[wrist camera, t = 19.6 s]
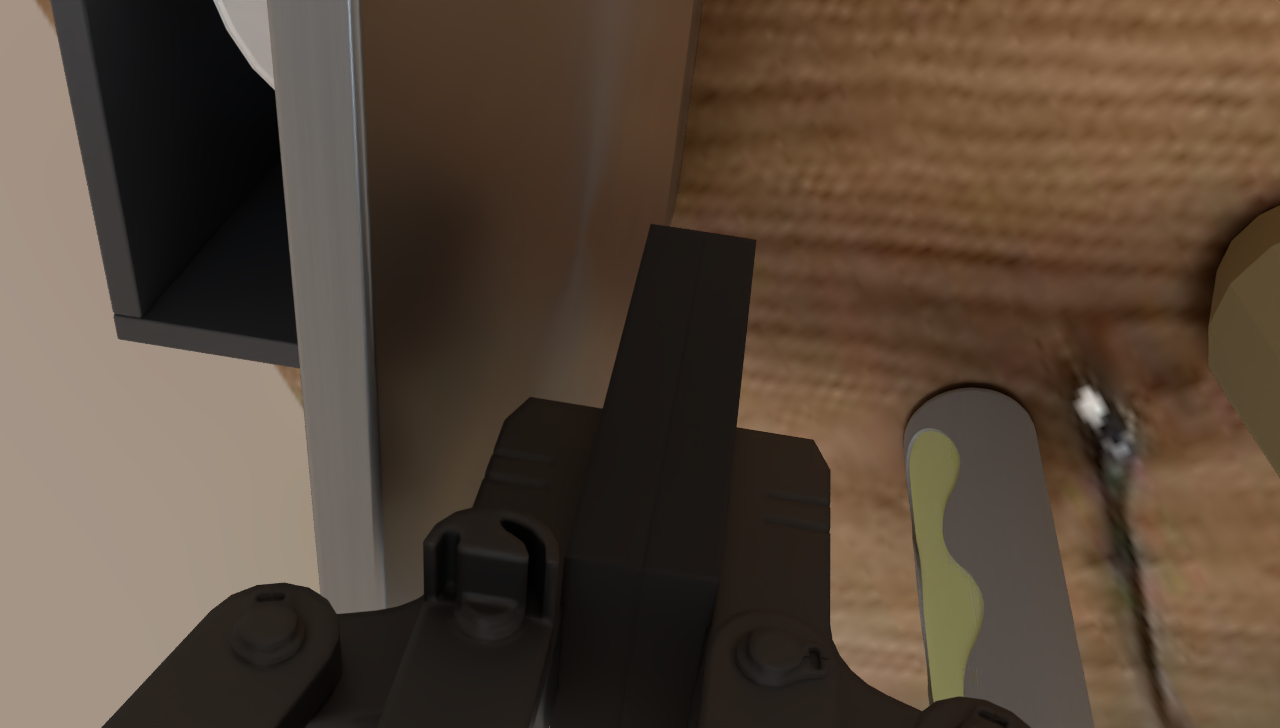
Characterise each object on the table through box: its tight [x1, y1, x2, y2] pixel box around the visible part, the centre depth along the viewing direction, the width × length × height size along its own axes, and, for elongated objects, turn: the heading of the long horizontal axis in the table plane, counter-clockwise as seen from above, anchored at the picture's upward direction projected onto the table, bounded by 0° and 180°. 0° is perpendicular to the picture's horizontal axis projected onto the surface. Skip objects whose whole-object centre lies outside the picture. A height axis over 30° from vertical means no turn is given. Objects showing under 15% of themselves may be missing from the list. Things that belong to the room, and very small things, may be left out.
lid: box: [267, 0, 694, 614], centre depth 18 cm, size 15×20×1 cm
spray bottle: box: [903, 388, 1095, 728], centre depth 37 cm, size 5×5×20 cm
